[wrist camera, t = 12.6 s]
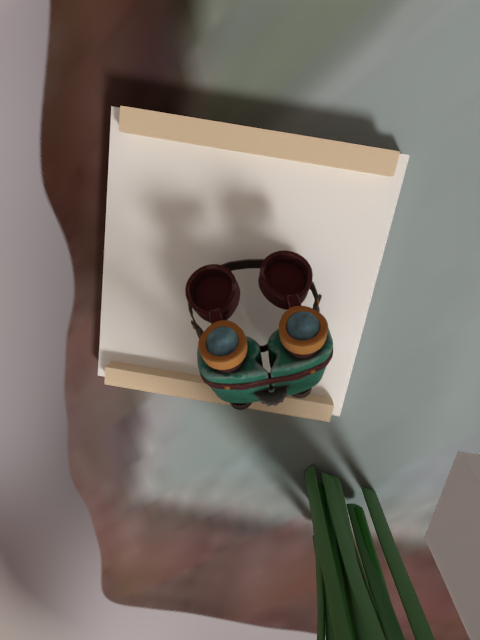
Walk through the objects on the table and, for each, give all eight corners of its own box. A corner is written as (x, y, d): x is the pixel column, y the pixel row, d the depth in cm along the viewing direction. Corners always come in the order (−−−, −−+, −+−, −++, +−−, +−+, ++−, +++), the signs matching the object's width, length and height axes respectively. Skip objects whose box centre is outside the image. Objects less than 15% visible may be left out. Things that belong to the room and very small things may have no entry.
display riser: (118, 110, 29) (104, 102, 26) (402, 156, 29) (416, 153, 26) (104, 367, 35) (92, 382, 33) (336, 406, 35) (342, 424, 33)
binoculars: (202, 317, 36) (217, 433, 31) (171, 239, 26) (186, 388, 21) (305, 297, 35) (336, 411, 31) (310, 211, 26) (357, 355, 21)
